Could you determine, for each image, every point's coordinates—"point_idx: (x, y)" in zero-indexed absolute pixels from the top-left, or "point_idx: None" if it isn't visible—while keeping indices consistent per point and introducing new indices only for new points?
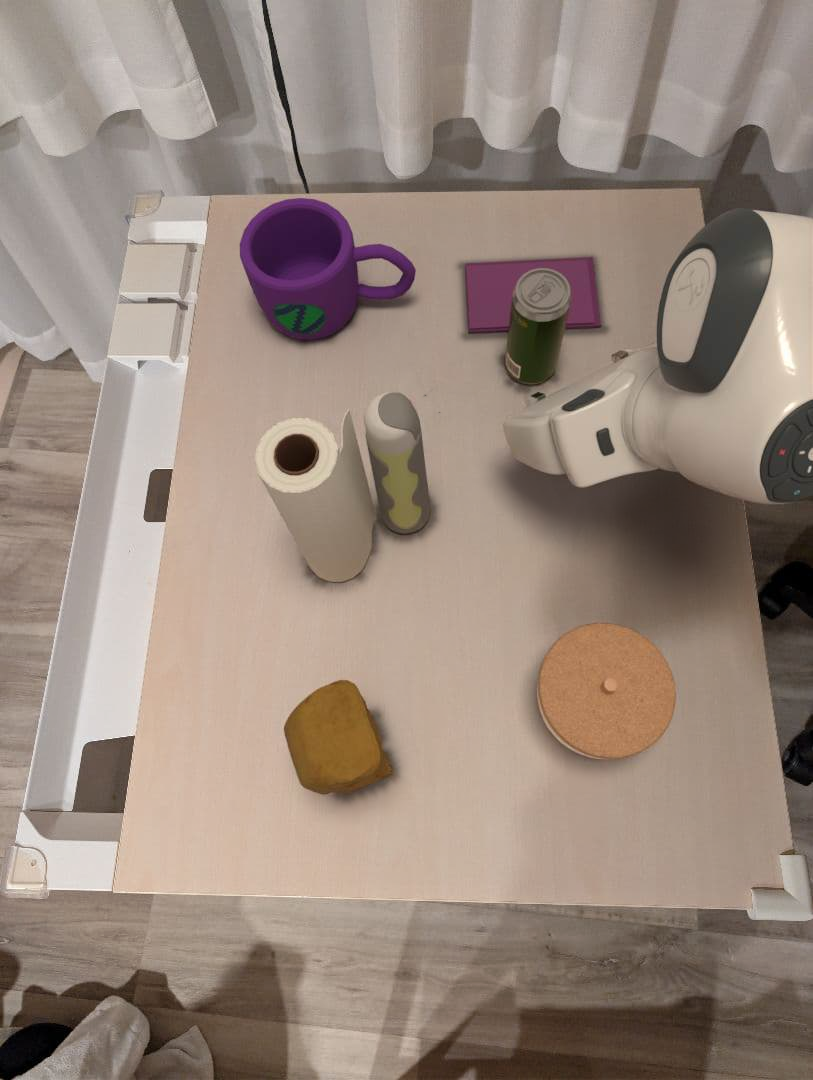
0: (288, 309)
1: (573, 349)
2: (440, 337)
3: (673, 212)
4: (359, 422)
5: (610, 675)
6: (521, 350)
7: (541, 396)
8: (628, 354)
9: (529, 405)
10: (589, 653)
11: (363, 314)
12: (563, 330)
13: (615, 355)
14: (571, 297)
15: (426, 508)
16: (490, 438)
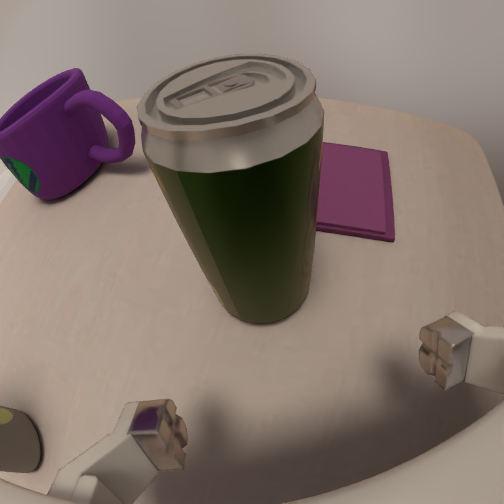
0: (6, 164)
1: (345, 270)
2: (154, 214)
3: (464, 139)
4: (28, 303)
5: None
6: (198, 258)
7: (145, 434)
8: (472, 341)
9: (9, 488)
10: None
11: (100, 179)
12: (302, 226)
13: (435, 332)
14: (355, 189)
15: (3, 467)
16: (146, 400)
